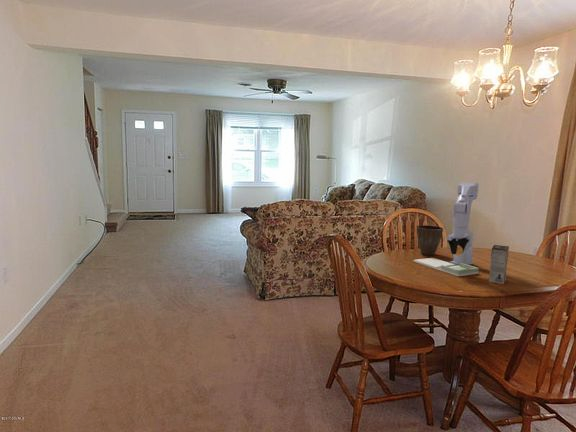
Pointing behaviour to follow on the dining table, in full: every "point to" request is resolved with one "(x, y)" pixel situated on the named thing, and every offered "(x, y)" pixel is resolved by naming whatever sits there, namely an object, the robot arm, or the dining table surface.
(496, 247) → the coffee box
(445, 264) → the board
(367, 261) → the dining table surface
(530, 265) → the dining table surface
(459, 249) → the ball
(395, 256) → the dining table surface
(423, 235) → the plant pot
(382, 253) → the dining table surface
